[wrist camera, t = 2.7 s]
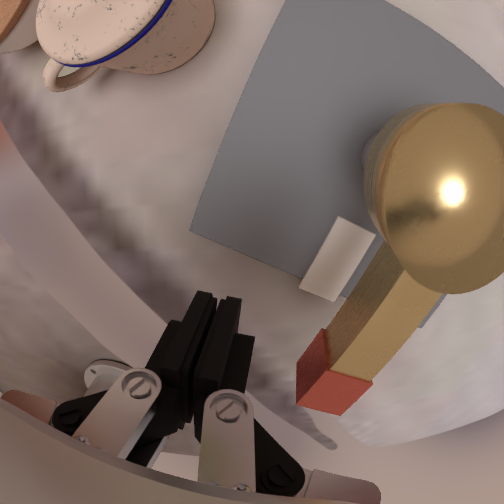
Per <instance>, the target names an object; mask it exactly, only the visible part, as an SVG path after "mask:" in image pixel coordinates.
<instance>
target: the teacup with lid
mask: <svg viewBox="0 0 504 504" xmlns="http://www.w3.org/2000/svg"><path fill="white" fill-rule="evenodd" d="M214 19H215V9H214V4H213V1H212V0H40V1H39V5H38V9H37V14H36V33H37V37H38V40H39V43H40V45H41V47H42V48H43V50H44V51H45V52H46V54H47V55H48V56H49V57H51V59H50V60H49V61H48V63H47V65H46V67H45V69H44V72H43V82H44V84H45V86H46V88H47V89H48V90H50V91H52V92H63V91H67V90H70V89H72V88H75V87H77V86H79V85H81V84H83V83H84V82H86V81H87V80H89V79H90V78H91V77H93V76H94V75H95V74H96V73H97V72H98V71H99V70H100V69H101V68H102V67H106V68H112V69H118V70H123V71H128V72H133V73H138V74H159V73H163V72H167V71H170V70H172V69H175V68H177V67H179V66H181V65H182V64H184V63H185V62H187V61H188V60H189V59H191V58H192V57H193V56H194V55H195V54H196V53H197V52H198V51H199V50H200V49H201V48H202V47H203V45H204V44H205V42H206V41H207V39H208V37H209V35H210V33H211V31H212V28H213V24H214ZM64 66H69V67H81V68H80V69H78V70H77V71H75V72H73V73H71V74H69V75H66V76H63V77H57V76H58V74H59V72H60V71H61V69H62V68H63V67H64Z"/></svg>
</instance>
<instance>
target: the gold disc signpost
mask: <svg viewBox="0 0 504 504" xmlns="http://www.w3.org/2000/svg"><path fill="white" fill-rule="evenodd" d="M363 187H364V197H365V201H366V206H367V209H368V212H369V215H370V217H371V219H372V221H373V223H374V225H375V227H376V228H377V230H378V231H379V233H380V234H381V235H382V237H383V238H384V241H383V243H382V244H381V246H380V248H379V249H378V251H377V253H376V254H375V256H374V258H373V259H372V261H371V262H370V264H369V266H368V267H367V269H366V270H365V272H364V274H363V275H362V277H361V278H360V280H359V281H358V283H357V284H356V286H355V288H354V289H353V291H352V292H351V294H350V295H349V297H348V298H347V300H346V301H345V303H344V304H343V306H342V307H341V308H340V310H339V311H338V313H337V314H336V316H335V317H334V319H333V320H332V321H331V323H330V324H329V326H328V327H327V329H323V328H322V329H321V330H320V331H319V333H318V334H317V336H316V337H315V338H314V340H313V341H312V343H311V344H310V345H309V347H308V348H307V349H306V351H305V352H304V354H303V355H302V356H301V358H300V359H299V360H298V362H297V370H296V405H300V406H303V407H307V408H311V409H314V410H319V411H322V412H326V413H330V414H335V415H339V416H341V415H342V414H343V413H344V412H345V411H346V410H347V409H348V408H349V407H350V406H351V405H352V404H353V403H354V402H356V401H357V400H358V399H359V398H360V397H361V396H362V395H363V394H364V393H365V392H366V391H367V390H368V389H369V388H370V387H371V386H372V385H373V382H372V379H373V378H374V377H375V376H376V375H377V374H378V372H379V371H380V370H381V369H382V368H383V367H384V366H385V365H386V364H387V363H388V361H389V360H390V359H391V358H392V357H393V356H394V355H395V354H396V352H397V351H398V350H399V349H400V348H401V347H402V345H403V344H404V343H405V342H406V341H407V339H408V338H409V337H410V336H411V335H412V333H413V332H414V331H415V330H416V328H417V327H418V326H419V325H420V323H421V322H422V321H423V319H424V318H425V317H426V315H427V314H428V313H429V311H430V310H431V309H432V307H433V306H434V305H435V303H436V302H437V301H438V299H439V298H440V296H441V295H442V294H443V293H444V294H461V293H466V292H470V291H473V290H476V289H479V288H481V287H483V286H485V285H487V284H489V283H490V282H492V281H493V280H494V279H496V278H497V277H498V276H500V275H501V274H502V273H503V272H504V115H502V114H501V113H499V112H497V111H496V110H494V109H492V108H489V107H487V106H484V105H480V104H474V103H428V104H420V105H415V106H412V107H409V108H407V109H405V110H403V111H401V112H399V113H398V114H396V115H395V116H394V117H392V118H391V119H390V120H389V121H388V122H387V123H386V124H385V125H384V126H383V127H382V129H381V130H380V131H379V133H378V134H377V136H376V137H375V139H374V141H373V143H372V145H371V147H370V150H369V152H368V156H367V159H366V163H365V169H364V183H363Z"/></svg>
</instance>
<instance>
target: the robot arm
mask: <svg viewBox="0 0 504 504" xmlns="http://www.w3.org/2000/svg"><path fill="white" fill-rule="evenodd" d="M241 302H242V299H239V298H234V297H229V296H227V298H226V300H224V299H221V300H220V303H219V305H218V308H217V298H213V295H212V293H208V292H203V291H197V293H196V294H195V296H194V298H193V300H192V302H191V304H190V306H189V308H188V310H187V312H186V314H185V316H184V318H183V320H182V322H180V321H176V320H171V321H170V322H169V323H168V325H167V327H166V329H165V331H164V333H163V335H162V337H161V338H160V340H159V342H158V344H157V346H156V348H155V350H154V352H153V353H152V355H151V357H150V359H149V361H148V363H147V365H146V367H145V368H134V369H133V368H131V367H129V366H126V365H124V364H121V363H118V362H114V361H107V360H99V361H95V362H92V363H91V364H90V365H89V366H88V368H87V369H86V370H85V373H84V381H85V384H86V386H87V388H88V390H87V391H86V393H85V395H84V396H83V397H81V398H78V399H74V400H71V401H67V402H64V403H62V404H58V403H57V401H56V400H52V399H48V398H44V397H40V396H36V395H33V394H29V393H26V392H22V391H19V390H9V391H6V392H5V393H4V394H3V395H2V396H1V398H0V504H380V501H381V492H380V490H379V488H378V487H377V486H376V485H375V484H374V483H372V482H369V481H366V480H361V479H355V478H350V477H346V476H341V475H336V474H332V473H328V472H324V471H320V470H316V469H314V470H313V471H311V470H307V469H304V468H302V467H301V466H300V465H299V464H298V463H297V462H296V461H295V460H294V459H293V458H292V457H291V456H290V455H289V454H288V453H287V452H286V451H285V450H284V449H283V448H282V447H281V446H280V445H279V444H278V443H277V442H276V441H275V440H274V439H273V438H272V437H271V435H270V434H269V433H268V432H267V431H266V430H265V429H264V428H263V427H262V426H261V425H260V424H259V423H258V422H257V421H256V420H255V418H254V413H253V405H252V403H251V401H250V400H249V398H248V397H246V395H244V392H245V388H246V382H247V377H248V372H249V367H250V362H251V356H252V351H253V345H254V340H255V336H249V335H244V334H238V333H237V332H238V325H239V317H240V310H241ZM216 309H217V311H216ZM193 414H194V427H195V437H196V439H197V440H198V441H199V443H200V444H201V446H200V457H199V468H198V481H197V482H196V481H191V480H187V479H184V478H180V477H176V476H173V475H169V474H165V473H162V472H159V471H156V470H153V469H151V468H152V466H153V464H154V462H155V461H156V459H157V458H158V456H159V454H160V452H161V451H162V449H163V447H164V445H165V444H166V442H167V440H168V438H169V435H170V434H173V433H175V432H177V430H178V428H179V429H182V430H183V427H184V424H185V422H186V423H190V422H191V420H192V417H193Z"/></svg>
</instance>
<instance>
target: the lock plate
mask: <svg viewBox="0 0 504 504" xmlns="http://www.w3.org/2000/svg"><path fill="white" fill-rule="evenodd" d="M428 103H474V104H480V105H484V106H487V107H489V108H492V109H494V110H496V111H497V112H499V113H501V114H502V115H504V88H503V87H502V86H501V85H500V84H499V83H498V82H497V81H496V80H495V79H494V78H493V77H492V76H491V75H490V74H489V73H487V72H486V71H485V70H484V69H483V68H482V67H481V66H480V65H478V64H477V63H476V62H475V61H474V60H472V59H471V58H470V57H469V56H468V55H466V54H465V53H464V52H463V51H461V50H460V49H459V48H457V47H456V46H455V45H454V44H452V43H451V42H450V41H448V40H447V39H445V38H444V37H443V36H441V35H440V34H438V33H437V32H436V31H434V30H433V29H431V28H430V27H428V26H427V25H425V24H424V23H422V22H420V21H419V20H417V19H416V18H414V17H412V16H411V15H409V14H408V13H406V12H404V11H402V10H401V9H399V8H397V7H395V6H394V5H392V4H390V3H388V2H386V1H385V0H286V1H285V3H284V5H283V7H282V9H281V11H280V13H279V15H278V17H277V19H276V21H275V23H274V25H273V27H272V29H271V31H270V33H269V35H268V37H267V40H266V42H265V44H264V46H263V48H262V50H261V52H260V54H259V57H258V59H257V61H256V63H255V65H254V67H253V70H252V72H251V74H250V76H249V79H248V81H247V83H246V85H245V88H244V90H243V92H242V95H241V97H240V99H239V102H238V104H237V106H236V109H235V111H234V113H233V116H232V118H231V121H230V123H229V126H228V128H227V130H226V133H225V135H224V138H223V140H222V143H221V145H220V148H219V151H218V153H217V156H216V158H215V161H214V163H213V166H212V169H211V171H210V174H209V177H208V179H207V182H206V185H205V187H204V190H203V193H202V196H201V198H200V201H199V204H198V207H197V210H196V213H195V215H194V218H193V221H192V224H191V227H190V230H189V231H191V232H193V233H195V234H198V235H200V236H202V237H205V238H207V239H209V240H212V241H214V242H216V243H219V244H221V245H224V246H226V247H228V248H231V249H233V250H235V251H238V252H240V253H242V254H245V255H247V256H249V257H252V258H254V259H257V260H259V261H261V262H264V263H266V264H268V265H271V266H273V267H275V268H278V269H280V270H283V271H285V272H287V273H290V274H292V275H294V276H297V277H299V278H302V281H301V283H300V285H299V288H300V289H302V290H305V291H307V292H310V293H312V294H314V295H317V296H319V297H322V298H324V299H327V300H329V301H332V302H335V300H336V299H337V297H338V296H339V294H340V295H342V296H344V297H347V298H348V297H349V295H350V294H351V292H352V291H353V289H354V288H355V286H356V284H357V283H358V281H359V280H360V278H361V277H362V275H363V274H364V272H365V270H366V269H367V267H368V266H369V264H370V262H371V261H372V259H373V258H374V256H375V254H376V253H377V251H378V249H379V248H380V246H381V244H382V243H383V241H384V238H383V237H382V235H381V234H380V233H379V231H378V230H377V228H376V227H375V225H374V223H373V221H372V219H371V217H370V215H369V212H368V209H367V206H366V201H365V197H364V187H363V183H364V169H365V163H366V159H367V156H368V152H369V150H370V147H371V145H372V143H373V141H374V139H375V137H376V136H377V134H378V133H379V131H380V130H381V129H382V127H383V126H384V125H385V124H386V123H387V122H388V121H389V120H390V119H391V118H392V117H394V116H395V115H396V114H398V113H399V112H401V111H403V110H405V109H407V108H409V107H412V106H415V105H420V104H428ZM446 295H447V294H444V293H443V294H442V295H441V296H440V298H439V299H438V301H437V302H436V303H435V305H434V306H433V307H432V309H431V310H430V311H429V313H428V314H427V315H426V317H425V318H424V319H423V321H422V322H421V323H420V325H419V326H418V327H419V328H422V327H423V326H424V324H425V323H426V322H427V320H428V319H429V318H430V317H431V315H432V314H433V313H434V311H435V310H436V309H437V307H438V306H439V305H440V303H441V302H442V300H443V299H444V298H445V296H446Z"/></svg>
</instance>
